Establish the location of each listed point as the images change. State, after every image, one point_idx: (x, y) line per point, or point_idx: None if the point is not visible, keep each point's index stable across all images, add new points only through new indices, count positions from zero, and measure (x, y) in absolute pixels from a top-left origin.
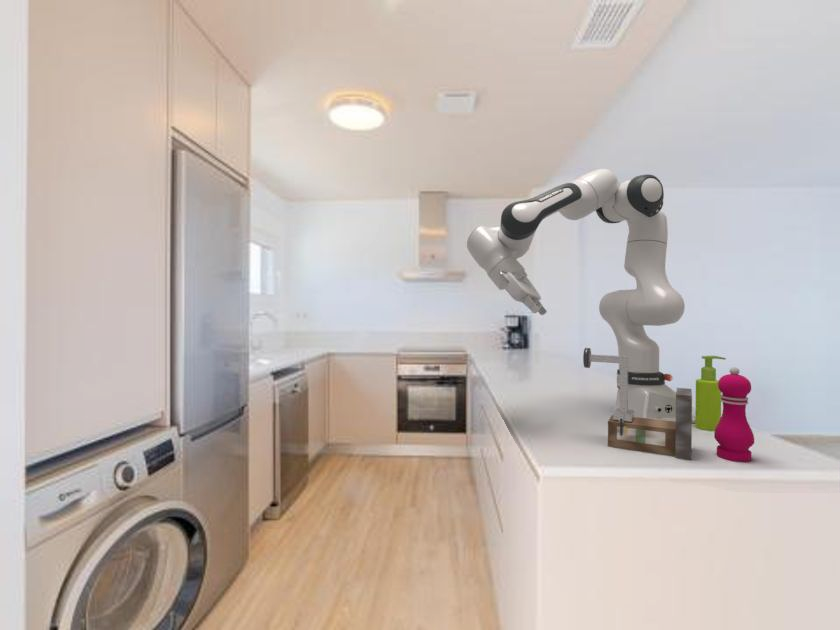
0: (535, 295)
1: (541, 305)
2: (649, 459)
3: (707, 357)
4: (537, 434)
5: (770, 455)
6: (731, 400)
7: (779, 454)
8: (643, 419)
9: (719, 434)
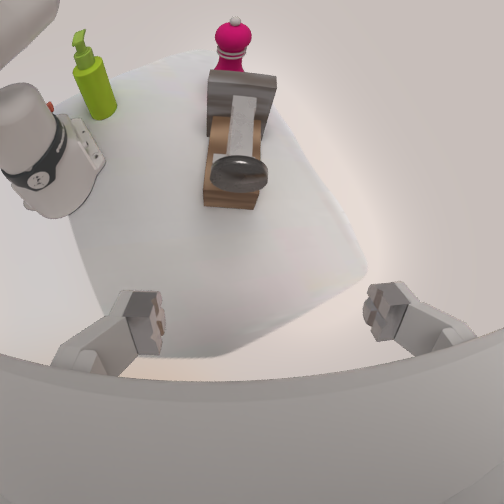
0: (213, 383)
1: (113, 329)
2: (283, 165)
3: (83, 39)
4: (242, 318)
5: (202, 74)
6: (244, 52)
7: (195, 69)
8: (218, 149)
9: None
